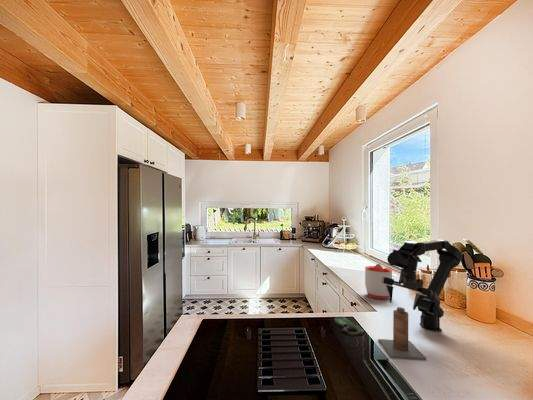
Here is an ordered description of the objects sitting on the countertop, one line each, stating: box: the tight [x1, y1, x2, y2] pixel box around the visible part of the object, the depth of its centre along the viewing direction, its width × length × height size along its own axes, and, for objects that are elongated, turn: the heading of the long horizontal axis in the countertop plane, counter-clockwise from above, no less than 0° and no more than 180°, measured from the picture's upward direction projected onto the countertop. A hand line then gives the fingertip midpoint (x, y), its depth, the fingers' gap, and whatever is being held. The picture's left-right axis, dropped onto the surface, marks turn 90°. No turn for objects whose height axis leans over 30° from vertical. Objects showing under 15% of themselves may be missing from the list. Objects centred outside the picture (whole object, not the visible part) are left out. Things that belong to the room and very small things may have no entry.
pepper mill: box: [392, 306, 409, 351], centre depth 98 cm, size 5×5×14 cm
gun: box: [333, 316, 366, 337], centre depth 116 cm, size 16×2×10 cm
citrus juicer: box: [364, 263, 393, 300], centre depth 160 cm, size 16×17×20 cm
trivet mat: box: [378, 338, 427, 361], centre depth 97 cm, size 12×12×1 cm
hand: (402, 306), depth 111 cm, fingers open, 9 cm apart
